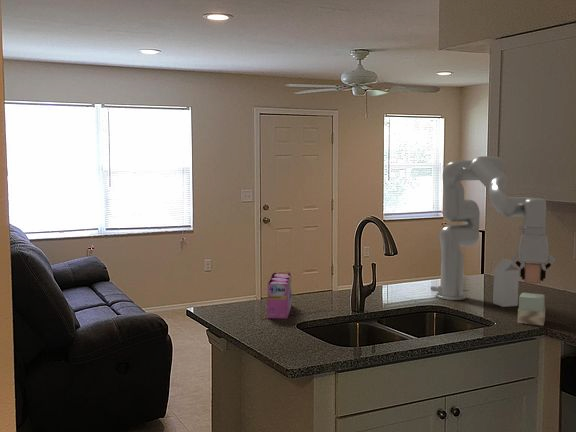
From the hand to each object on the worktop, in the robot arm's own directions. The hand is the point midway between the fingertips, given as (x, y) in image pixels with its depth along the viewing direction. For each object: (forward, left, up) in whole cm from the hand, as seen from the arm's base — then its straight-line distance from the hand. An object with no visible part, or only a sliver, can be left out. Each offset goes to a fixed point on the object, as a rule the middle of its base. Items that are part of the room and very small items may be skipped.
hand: (532, 279), depth 245 cm
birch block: (0, 0, -16) cm, 16 cm away
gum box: (-92, -27, -16) cm, 97 cm away
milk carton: (-12, +24, -16) cm, 31 cm away
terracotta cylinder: (0, 0, -1) cm, 1 cm away
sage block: (0, 0, -11) cm, 11 cm away
